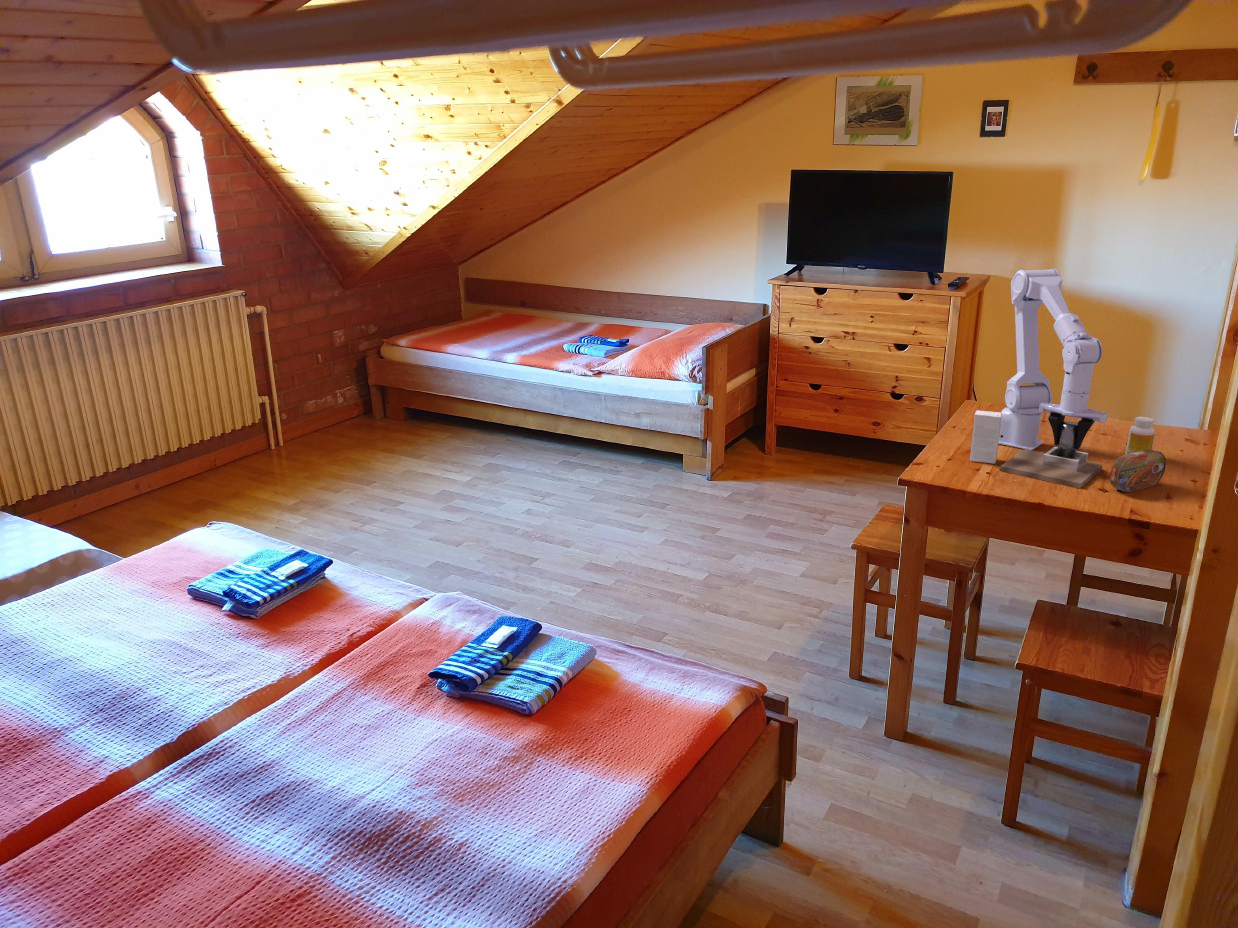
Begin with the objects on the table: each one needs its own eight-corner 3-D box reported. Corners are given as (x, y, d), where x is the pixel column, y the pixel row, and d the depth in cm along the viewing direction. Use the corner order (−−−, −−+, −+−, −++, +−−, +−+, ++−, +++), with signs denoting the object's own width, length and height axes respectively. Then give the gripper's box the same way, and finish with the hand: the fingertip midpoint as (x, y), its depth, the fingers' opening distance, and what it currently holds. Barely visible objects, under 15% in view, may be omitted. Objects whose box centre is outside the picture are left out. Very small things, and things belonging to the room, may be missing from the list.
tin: (1116, 495, 202) (1122, 459, 199) (1104, 490, 204) (1110, 455, 201) (1163, 484, 207) (1170, 449, 204) (1151, 480, 210) (1157, 445, 207)
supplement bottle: (1153, 460, 222) (1160, 422, 218) (1129, 459, 223) (1136, 421, 219) (1145, 453, 227) (1152, 416, 223) (1122, 452, 228) (1128, 415, 224)
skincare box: (996, 458, 225) (1002, 412, 221) (995, 464, 221) (1001, 417, 217) (970, 455, 227) (976, 409, 223) (968, 461, 224) (974, 414, 220)
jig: (999, 470, 217) (1001, 456, 216) (1024, 453, 228) (1026, 439, 227) (1080, 488, 206) (1082, 473, 204) (1101, 469, 217) (1104, 454, 215)
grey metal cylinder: (1054, 456, 216) (1059, 424, 214) (1059, 451, 219) (1064, 420, 216) (1071, 459, 214) (1077, 427, 211) (1077, 455, 217) (1082, 423, 214)
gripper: (1037, 389, 213) (1029, 444, 217) (1104, 399, 204) (1095, 456, 208) (1047, 383, 218) (1040, 437, 222) (1113, 393, 209) (1104, 449, 213)
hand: (1067, 446), depth 216 cm, fingers closed on grey metal cylinder, 4 cm apart
